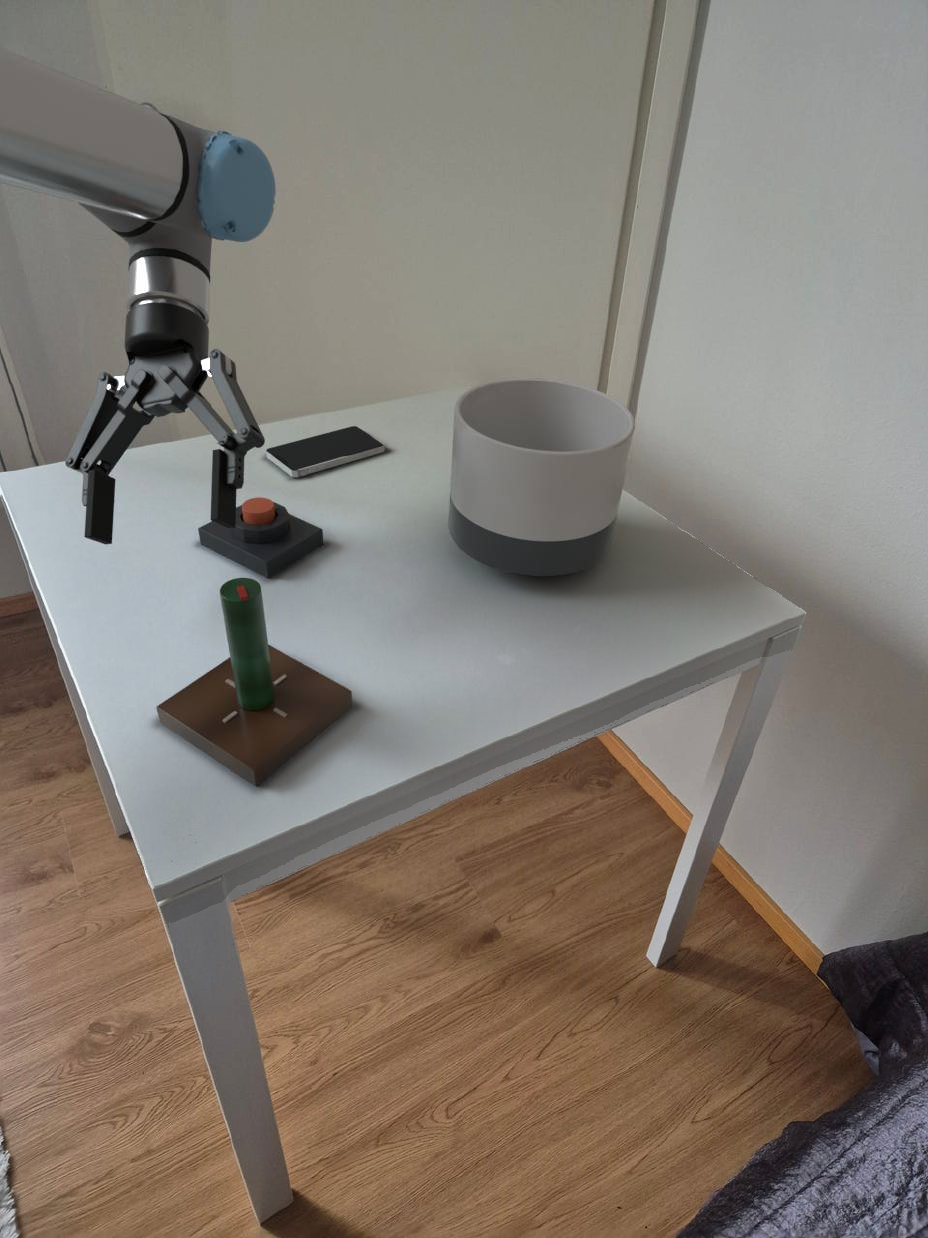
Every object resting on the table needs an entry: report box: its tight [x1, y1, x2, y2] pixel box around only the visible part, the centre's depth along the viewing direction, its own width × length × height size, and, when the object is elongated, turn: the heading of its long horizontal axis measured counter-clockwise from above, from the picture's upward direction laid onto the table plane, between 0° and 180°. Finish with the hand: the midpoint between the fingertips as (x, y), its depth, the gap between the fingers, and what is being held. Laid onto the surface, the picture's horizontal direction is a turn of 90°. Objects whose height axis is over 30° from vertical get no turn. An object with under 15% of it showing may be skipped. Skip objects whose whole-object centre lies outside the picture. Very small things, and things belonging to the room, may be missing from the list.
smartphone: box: [265, 425, 386, 478], centre depth 112 cm, size 8×1×15 cm
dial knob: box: [219, 577, 274, 711], centre depth 67 cm, size 3×3×12 cm
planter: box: [447, 377, 636, 577], centre depth 91 cm, size 19×19×18 cm
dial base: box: [156, 643, 353, 787], centre depth 72 cm, size 12×12×2 cm
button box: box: [197, 501, 324, 579], centre depth 93 cm, size 11×9×4 cm
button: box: [241, 497, 275, 525], centre depth 91 cm, size 4×4×2 cm
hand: (159, 532), depth 73 cm, fingers open, 13 cm apart
